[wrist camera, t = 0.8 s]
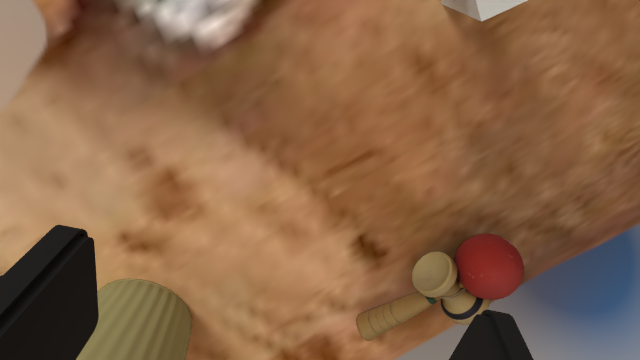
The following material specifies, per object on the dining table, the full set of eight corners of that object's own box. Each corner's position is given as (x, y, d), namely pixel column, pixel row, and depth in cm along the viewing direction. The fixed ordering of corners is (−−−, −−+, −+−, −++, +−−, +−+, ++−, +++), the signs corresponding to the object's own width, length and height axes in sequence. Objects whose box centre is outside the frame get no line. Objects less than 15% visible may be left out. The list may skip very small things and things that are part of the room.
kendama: (390, 327, 48) (536, 262, 40) (384, 372, 43) (551, 308, 34) (348, 283, 47) (489, 206, 38) (336, 324, 41) (498, 244, 33)
